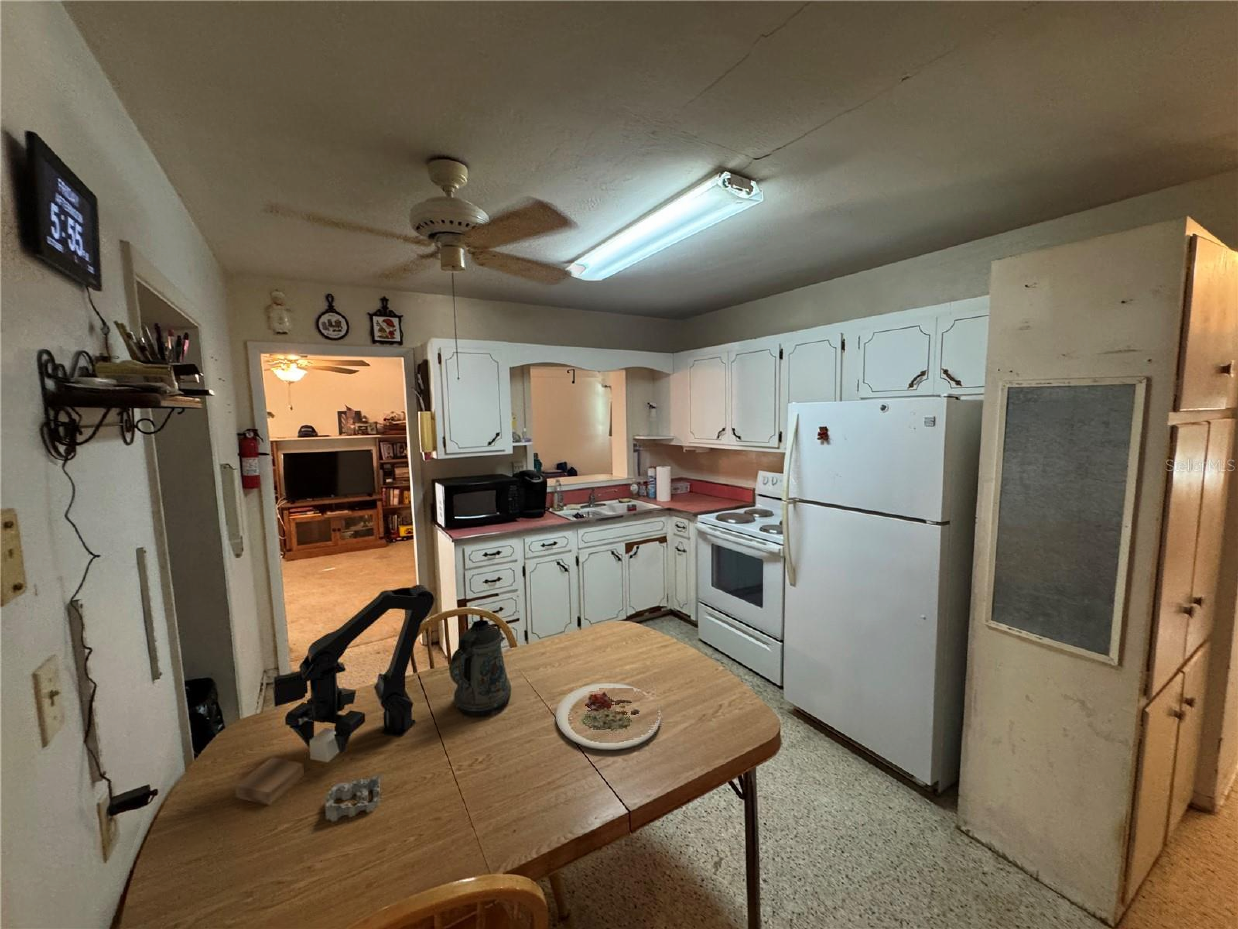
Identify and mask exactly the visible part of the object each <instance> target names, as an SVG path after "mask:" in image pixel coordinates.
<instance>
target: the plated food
mask: <svg viewBox="0 0 1238 929" xmlns="http://www.w3.org/2000/svg"><path fill="white" fill-rule="evenodd" d="M614 687H615V688H633V689H634V691H636V690H637V691H642V690H640V689H639V688H636V687H633V686H630V685H627V684H622V683H613V682H612V683H607V682H606V683H596V684H595V683H594V684H590V685H586V686H583V687H579V688H577V689H575V690H574V691H572V692H569V694H567V695H566V696H565V697H564V698H563V699H561V701H560V702H559V704H558V706H557V708H556V714H555V719H556V723H557V726H558V728H559V729H560V731H561V732H562V733H563V734H564V735H565V736H566V737H567V738H568V739H570V740H571V741H573V742H575V743H577V744H580V745H581V746H583V747H587V748H591V749H597V750H621V749H627V748H631V747H635V746H637V745H640V744H641V743H643V742H646V741H647V740H648V739H649V738H651V737H652V736H653V735H654V734H655V733H656V731H657V730H658V729H659V727H658V726H660V725H661V718H662V714H661V709H660V710H659V711H658V712H660V713H659V715H661V716H660V717H658V719H659V720H658V721H656V722H658V723H655V725H652V726H654V727H653V728H651V729H653V730H649V731H648V732H649V733H647V734H645V735H641V736H642V737H640V738H634V740H629V741H624V742H619V743H599V742H594V741H590V740H587V739H585V738H583V737H581V736H579V735H578V734H576V733H575V732H574V731H573V730H572V729H571V727H570V725H569V723H568V722H569V721H568V714H569V712H570V709H571V708H572V706H573V705H574V704H575V703H576V702H577V701H578V700H579V699H580V698H582V697H583V696H584V695H588V693H589V692H590V691H597V690H599V688H614ZM643 693H644V694H645V695H648V694H647V693H646V692H644V691H643ZM650 698H652V697H651V696H650ZM612 702H615V705H619V704H620V703H625V702H626V703H632V701H630V700H623V699H619V700H616V701H614V700H612V698H611V699H610V697H608V696H607V694H606V693H605V692H603V693H602V694H594V695H593V694H590V696H589V697H588V701H587V702H586V703H585V706H587V707H588V708H590V709H591V710H587V711H588V712H590V713H588V712H587V714H585V716H582V717H581V722H582V724H585V726H588V727H589V729H590V728H593V730H606V729H611V731H613V730H614V729H616V730H615V731H617V729H623V728H625V729H627V727H628V726H630V722H632V720H631V719H630V716H629V717H628V716H626V717H625V716H624V715H627V713H628V712H626V711H624V710H623V711H621V712H620V711H616V710H610V708H611V706H612V705H614V704H612ZM620 708H625V706H620ZM639 712H640V711H639V710H638V709H633V711H631V715H636V714H639ZM625 713H626V714H625ZM570 719H572V718H570ZM584 720H585V721H584ZM654 732H655V733H654Z"/></svg>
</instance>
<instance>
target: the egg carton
mask: <svg viewBox="0 0 1238 929" xmlns="http://www.w3.org/2000/svg"><path fill="white" fill-rule="evenodd" d="M370 791H372V793H373V794H372V795H373V796H372V797H373V798H372V802H369V792H370ZM380 794H381V775H380V774H377V775H375V776H373V777H371V778H365V779H363V778H360V779H358V780H354V781H353V780H352V781H350V782H340V783H337V784H336V785H334V786H333V787H332V788H331V789H330V790H329V791H328V796H327V798H326V802H325V805H324V809H325V820H330V821H331V822H336V821H338V820H339V819H340V818H341V817H342V816H349V818H351V817H353V816H356V814H358V813H359V812H361V811H366V813H371V812H372V811H374V809H375V808H377V807H379V804H380ZM353 795H355V798H356V800H355V801H356V804H355V806H354V805H353V806H352V804H351V803H350V802H344V803H339V804H337V803H335V801H336V800H337V799H341V800H343V801H347V800H349V799H351V798H352V797H354V796H353Z"/></svg>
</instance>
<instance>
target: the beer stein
mask: <svg viewBox="0 0 1238 929" xmlns="http://www.w3.org/2000/svg"><path fill="white" fill-rule="evenodd" d="M503 638H504V636H503V633H502V631H500V629H499V628H497V627H495V626H493V625H491V624H490V623H489V621H488V620H485V619H478V620H476V621H474V622H472V624H471V627H469V628H467V630H465V631H464V632H463V634H462V635H461V636H460V637H459V640H458V645H457V649H456V650H455V651H454V652H453V654H452V655H451V658H450V662H449V666H448V671H449V676H450V678H451V680H452V682H453V683H454V684H456V689H455V691H454V693H453V699H454V704H455V708H456V710H457V712H458V713H460V715H462V716H463V717H467V718H471V719H472V718H475V719H478V718H479V719H481V718H482V719H483V718H486V717H491V716H494V715H496V714H498V713H500V712H502V711H503V710H504V709H505V708H506V707H507V706H508V705H509V702H510V699H511V695H512V685H511V683H510V680H509V678H508V675H507V671H506V666H505V662H504V656H503V651H502V645H501V644H502V643H503V642H502V641H503Z"/></svg>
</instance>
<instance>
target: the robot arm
mask: <svg viewBox="0 0 1238 929" xmlns="http://www.w3.org/2000/svg"><path fill="white" fill-rule="evenodd" d="M434 604H435V596H434V594H433V593H432V592H431V591H430V590H429V589H428V587H426V586H425V585H423V584H415V585H413V586H410V587H399V588H395V589H385V590H382V591H381V592H380V593H379V594H378V595H377V596H376V597H375V598H373V599H372V601H370V602H369V603H368V604H367V605H365V606H364V607H363V608H362V609H360V610H359V611H358V612H357V613H356V614H354V615H353V616H352V617H351V618H350V619H348V620H347V621H346V622H345V623H344V624H343V625H341V626H340V627H339V628H337V629H336V630H334V631H331V632H328V633H326V634H324V635H323V636H321V637H320V638H318V639H316V640H315V641H313V642H312V643H311V644H310V645H309V647H308V649H307V655H306V656H305V657H304V659H303V660H302V662H301V663H300V664H299V666H298V668H299V670H298V671H294V672H290V673H287V674H279V675H276V676H274V677H273V686H272V694H273V705H274V708H278V707H280V706H283V705H287V704H290V703H294V702H297V701H300V700H303V699H304V698H306V694H308V693H310V698H308V699H306V702H300V704H298V705H297V706H295V707H294V708H292V709H291V710H289V711H288V712H287V713H286V715H285V716H284V717H285V718H284V720H285V721H284V722H285V723H284V724H285V726H289V728H290V729H292V730H293V731H294V732H295V734H297V735H298V737H299V738H300V739H301V740H302V741H303V742H304V743H305V744H306V746H307V747H308V748H309V749H310V740H311V739H312V738H313V737H315V723H320V724H325V723H329V724H334V729H335V732H336V734H335V735H334V736H335V740H336V743H337V746H338V749H339V753H340V755H342V754H344V753H345V751H346V749H347V746H348V743H349V740H350V737H351V735H352V734H353V733H354V732H355V731H357V729H359V728H360V727H361V726H362V725H364V723H366V713H365V712H362V711H357V710H351V709H350V710H349V711H348V712H347V713H345V714H341V713H339V712H342V711H343V710H345V708H346V707H345V706H349V705H353V704H354V703H355V700H356V693H357V689H356V690H355V689H351V688H342V687H340V686H339V685H338V678H337V677H338V676H337V675H338V674H340V673H343V672H346V670H347V668H346V667H345V665H344V663H343V662H341V661H339V660H340V659H341V657H342V656H344V654H345V652H346V650H347V649H348V647H349V646H350V645H351V643H352V642H353V641H354V640H356V639H357V638H358V637H359V636H360V635H362V634H363V633H364V632H365V631H366V630H367V629H368V628H370V627H371V626H372V625H373V624H374V623H375V622H377V620H379V619H380V618H381V617H383V615H385V614H387V612H388V611H389V610H404V619H403V623H402V626H401V629H400V632H399V635H398V638H397V641H396V644H395V648H394V650H393V653H392V658H391V660H390V663H389V667H388V668H387V670H386V671H385V672H384V673H378V675H377V680H376V683H375V685H374V686H373V689H374V691H375V695H376V698H377V700H378V702H379V704H380V706H381V708H382V709H383V710H384V711H383V713H382V714H383V715H382V716H383V717H382V718H383V728H382V729H381V730H380V733H381V734H385V735H391V736H396V737H403V736H404V735H405V734H406V733H407V732H408V731H409V730H410V729H411V728H412V727H413V726H414V724H416V722H417V721H416V719H413V714H412V713H413V711H412V710H413V706H414V703H413V700H412V699H411V697H410V696H409V694H408V692H407V691H406V674H407V673H406V672H407V669H408V667H409V663H410V661H411V656H412V654H413V650H414V647H415V644H416V642H417V638H418V635H419V631H420V628H421V626H422V623H423V621H424V620H425V619H426V618H427V617H428V616H429V615H430V614H429V613H430V612H431V610H432V608H433V607H434ZM308 682H309V687H310V688H309V689H310V692H308Z"/></svg>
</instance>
